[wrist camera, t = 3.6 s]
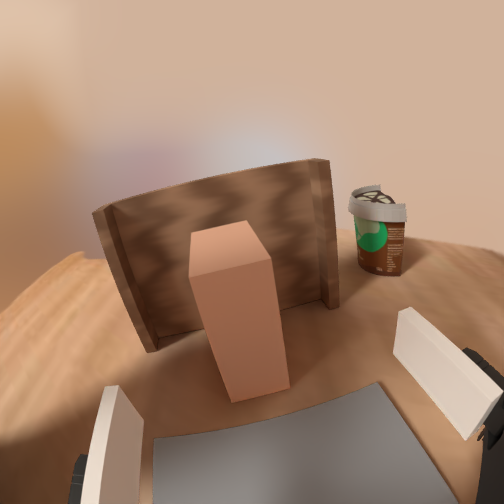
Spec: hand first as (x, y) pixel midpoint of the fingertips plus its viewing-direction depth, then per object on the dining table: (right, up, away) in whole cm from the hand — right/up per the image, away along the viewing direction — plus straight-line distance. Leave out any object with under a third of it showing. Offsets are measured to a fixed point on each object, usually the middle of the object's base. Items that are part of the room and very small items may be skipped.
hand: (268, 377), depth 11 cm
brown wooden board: (-2, -3, +20) cm, 20 cm away
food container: (+16, +4, +27) cm, 32 cm away
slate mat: (+2, -10, +1) cm, 10 cm away
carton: (-1, -5, +14) cm, 15 cm away
